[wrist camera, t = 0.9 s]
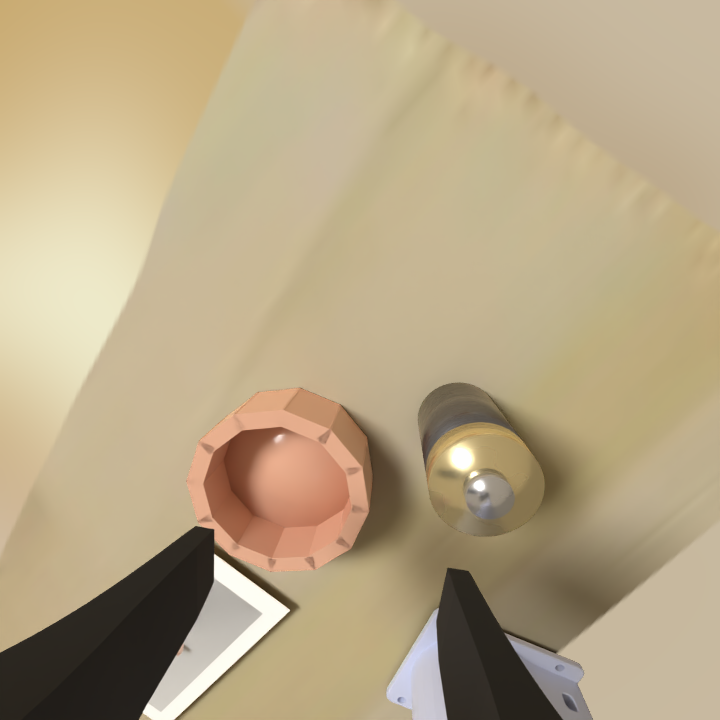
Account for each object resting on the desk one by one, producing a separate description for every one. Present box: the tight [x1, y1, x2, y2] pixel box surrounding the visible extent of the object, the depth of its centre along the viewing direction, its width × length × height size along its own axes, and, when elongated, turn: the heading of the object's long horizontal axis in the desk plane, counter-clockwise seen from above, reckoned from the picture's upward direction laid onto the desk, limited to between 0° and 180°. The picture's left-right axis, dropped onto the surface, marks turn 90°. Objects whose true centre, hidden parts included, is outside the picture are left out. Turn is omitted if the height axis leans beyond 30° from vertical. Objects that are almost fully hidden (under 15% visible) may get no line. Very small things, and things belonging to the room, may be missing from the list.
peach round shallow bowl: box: [186, 388, 373, 572], centre depth 19 cm, size 9×9×3 cm
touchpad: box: [143, 554, 290, 720], centre depth 23 cm, size 8×15×2 cm, turn 140°
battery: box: [418, 383, 545, 536], centre depth 15 cm, size 4×4×7 cm
